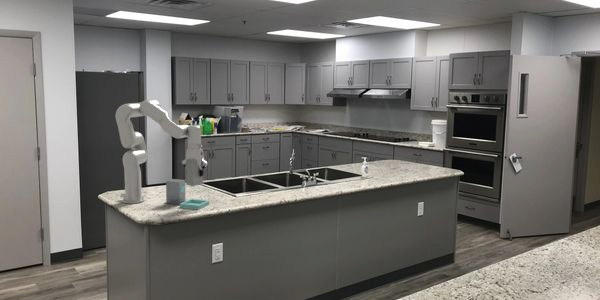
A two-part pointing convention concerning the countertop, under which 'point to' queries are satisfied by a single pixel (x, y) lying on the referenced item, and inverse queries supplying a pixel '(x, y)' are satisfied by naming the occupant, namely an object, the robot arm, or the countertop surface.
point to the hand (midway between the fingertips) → (194, 175)
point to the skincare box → (193, 173)
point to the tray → (194, 204)
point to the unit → (175, 192)
